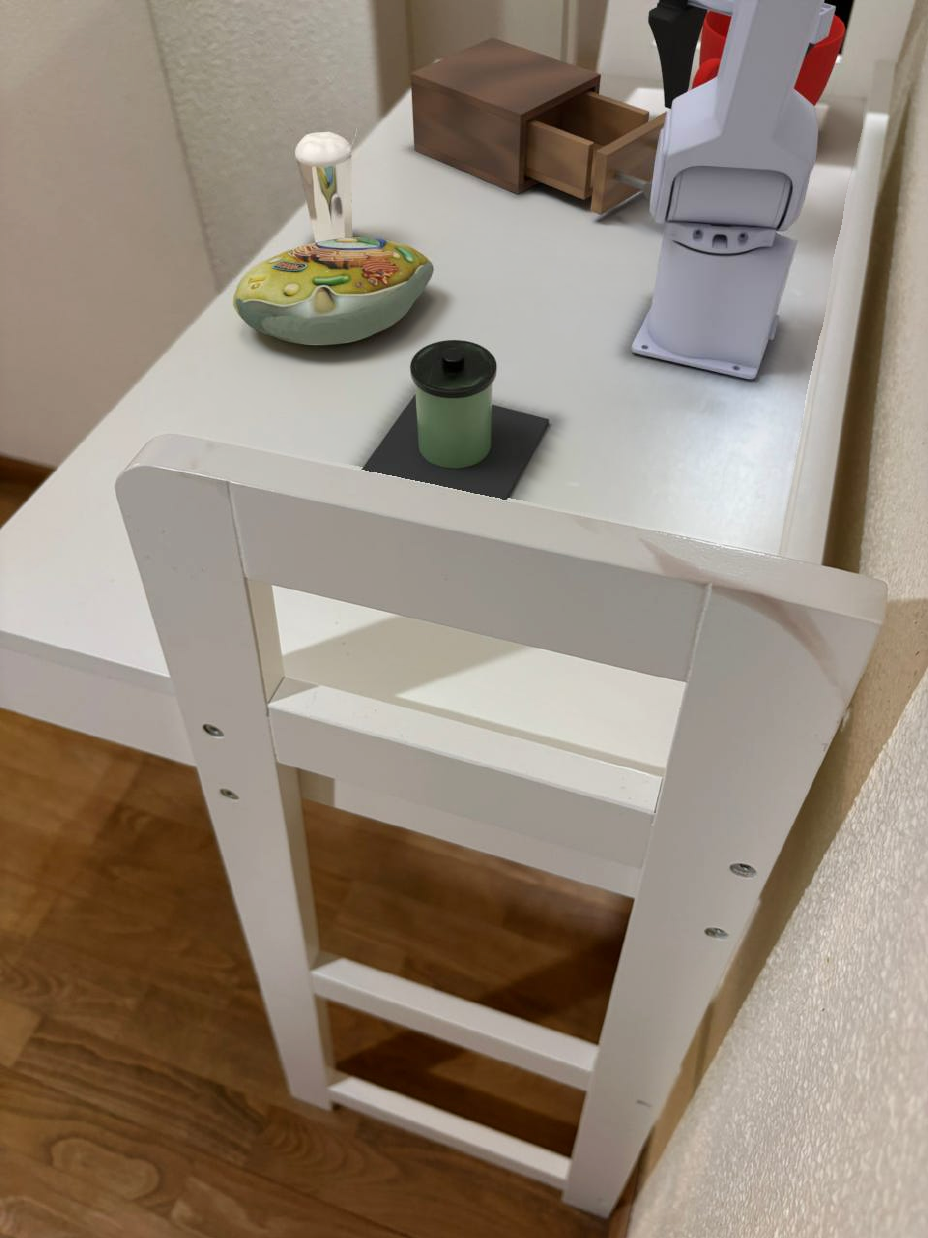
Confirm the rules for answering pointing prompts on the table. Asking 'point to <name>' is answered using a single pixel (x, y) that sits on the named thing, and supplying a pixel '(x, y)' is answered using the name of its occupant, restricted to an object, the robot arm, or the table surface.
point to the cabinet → (489, 107)
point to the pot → (454, 402)
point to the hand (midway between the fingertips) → (714, 117)
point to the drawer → (594, 149)
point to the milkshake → (327, 183)
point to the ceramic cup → (812, 69)
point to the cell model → (332, 290)
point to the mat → (488, 477)
